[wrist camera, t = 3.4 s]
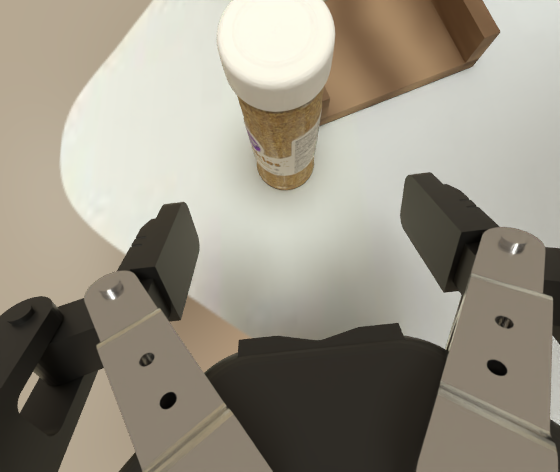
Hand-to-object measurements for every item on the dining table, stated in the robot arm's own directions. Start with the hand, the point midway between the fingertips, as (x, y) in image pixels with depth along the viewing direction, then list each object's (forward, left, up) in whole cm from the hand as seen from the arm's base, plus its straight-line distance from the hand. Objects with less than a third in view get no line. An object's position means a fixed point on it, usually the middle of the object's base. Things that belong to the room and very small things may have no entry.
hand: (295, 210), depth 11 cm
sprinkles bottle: (-2, -6, -12) cm, 14 cm away
